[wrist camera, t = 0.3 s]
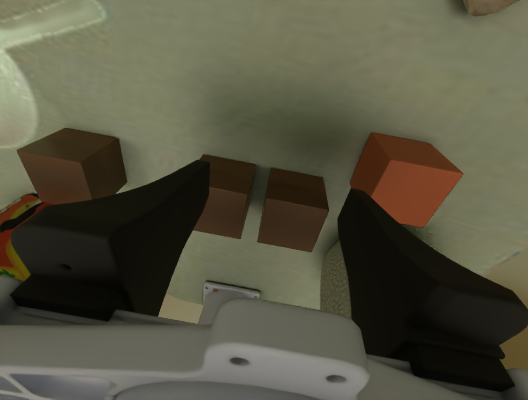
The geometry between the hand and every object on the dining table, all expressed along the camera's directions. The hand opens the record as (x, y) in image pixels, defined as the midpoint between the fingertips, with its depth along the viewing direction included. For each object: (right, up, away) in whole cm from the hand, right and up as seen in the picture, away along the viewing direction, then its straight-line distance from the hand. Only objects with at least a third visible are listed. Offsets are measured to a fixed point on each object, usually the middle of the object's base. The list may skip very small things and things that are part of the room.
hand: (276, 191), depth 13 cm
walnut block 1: (-17, +4, +12) cm, 21 cm away
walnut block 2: (-4, +1, +12) cm, 13 cm away
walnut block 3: (+2, 0, +12) cm, 12 cm away
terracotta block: (+10, +3, +9) cm, 14 cm away
